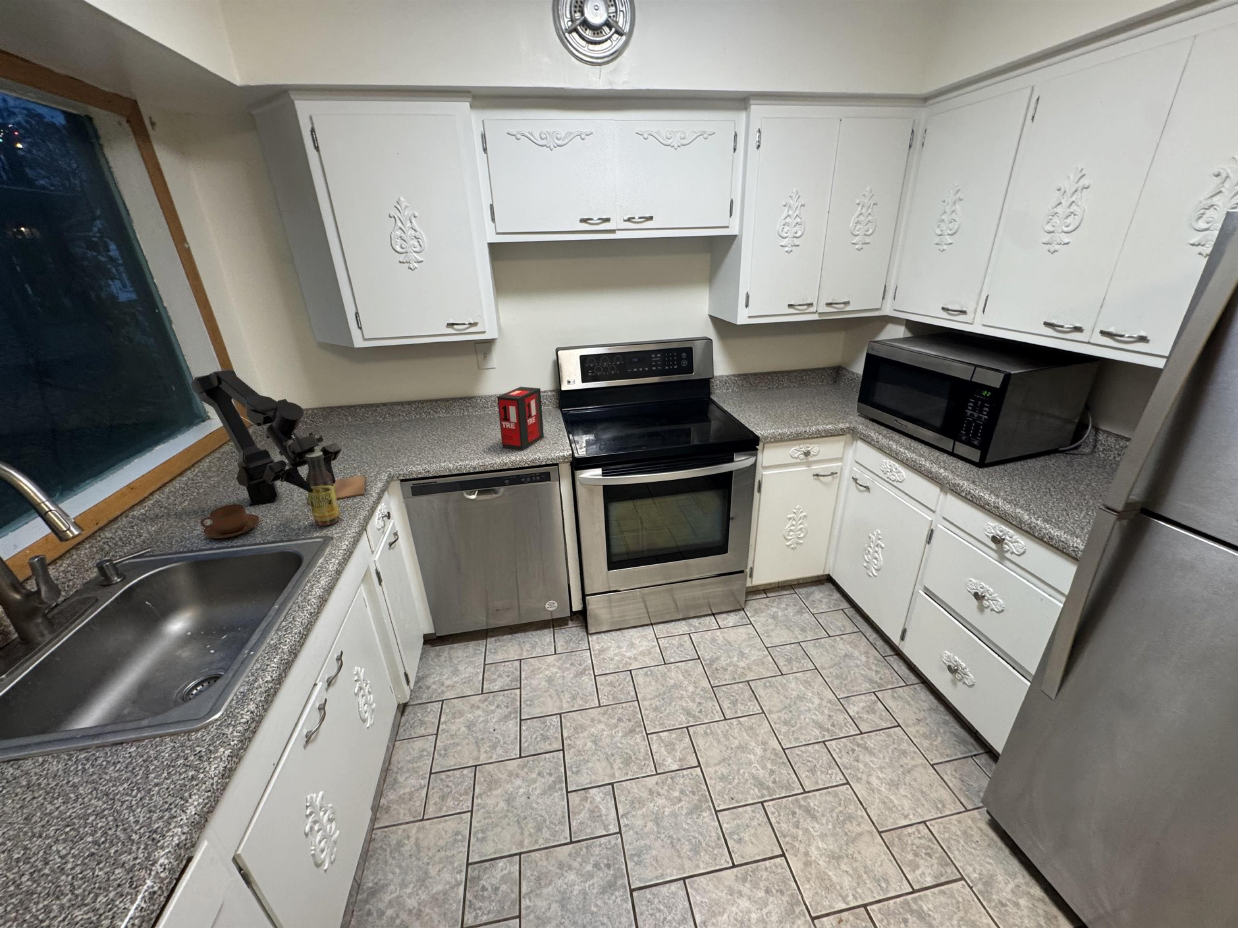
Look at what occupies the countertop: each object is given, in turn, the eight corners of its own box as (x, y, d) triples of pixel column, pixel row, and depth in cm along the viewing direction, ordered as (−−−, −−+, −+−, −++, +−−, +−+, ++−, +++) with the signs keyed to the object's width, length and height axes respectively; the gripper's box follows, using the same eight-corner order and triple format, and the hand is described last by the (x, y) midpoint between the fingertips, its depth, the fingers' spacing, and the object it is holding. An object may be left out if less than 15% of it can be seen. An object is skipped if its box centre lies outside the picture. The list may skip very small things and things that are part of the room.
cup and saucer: (211, 547, 126) (203, 526, 124) (201, 531, 134) (193, 511, 132) (266, 530, 134) (259, 509, 132) (254, 515, 142) (247, 496, 140)
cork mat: (308, 504, 149) (307, 502, 148) (313, 485, 161) (312, 483, 161) (364, 494, 154) (364, 493, 154) (364, 477, 167) (364, 475, 167)
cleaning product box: (524, 434, 206) (520, 386, 198) (543, 436, 203) (540, 388, 196) (502, 447, 192) (497, 396, 184) (522, 450, 189) (518, 398, 181)
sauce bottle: (312, 528, 134) (293, 459, 127) (318, 517, 140) (300, 451, 132) (339, 525, 136) (322, 457, 128) (344, 514, 142) (328, 448, 134)
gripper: (257, 434, 122) (295, 485, 121) (329, 414, 137) (364, 459, 136) (248, 459, 128) (284, 507, 127) (318, 437, 143) (351, 480, 143)
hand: (323, 487), depth 133 cm, fingers closed on sauce bottle, 6 cm apart
